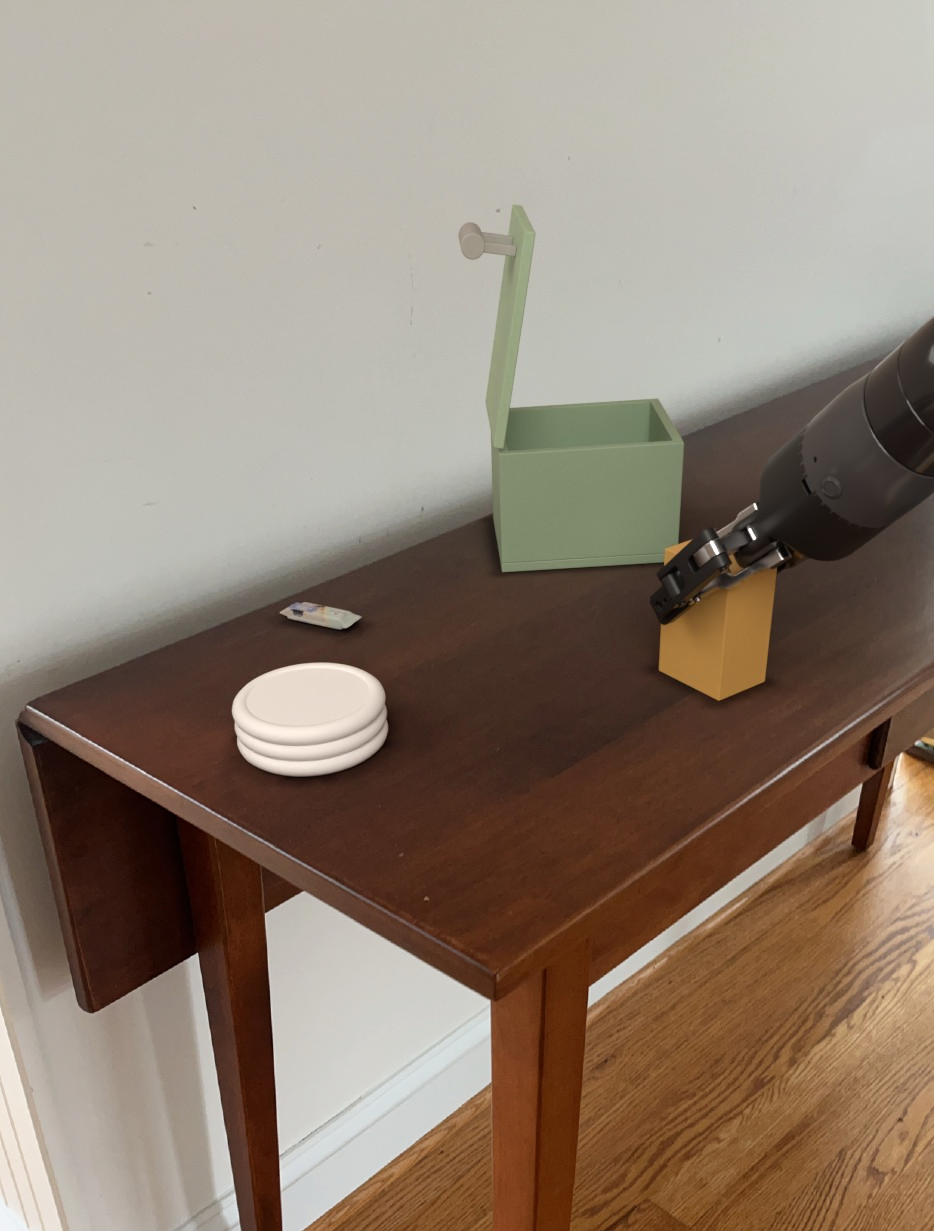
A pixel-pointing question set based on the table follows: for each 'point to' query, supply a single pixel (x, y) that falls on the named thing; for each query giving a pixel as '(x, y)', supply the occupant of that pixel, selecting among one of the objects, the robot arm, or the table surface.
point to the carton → (721, 636)
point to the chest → (587, 485)
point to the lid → (504, 308)
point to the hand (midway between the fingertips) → (701, 595)
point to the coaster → (310, 719)
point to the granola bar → (320, 615)
